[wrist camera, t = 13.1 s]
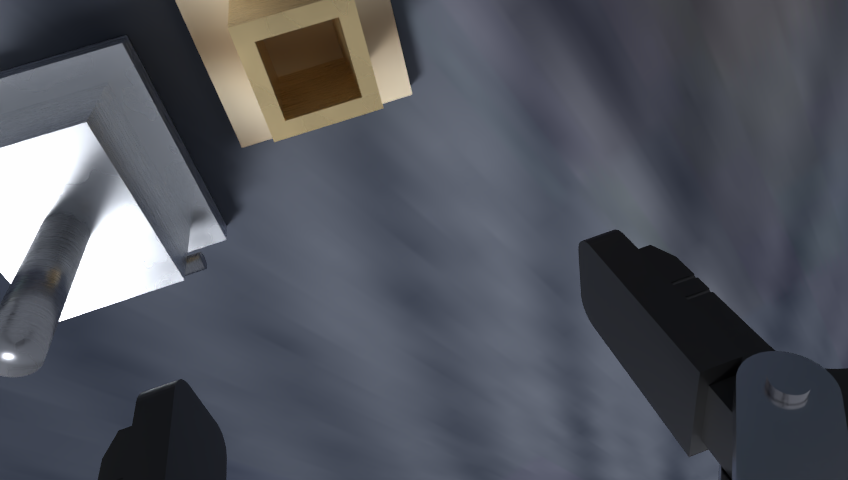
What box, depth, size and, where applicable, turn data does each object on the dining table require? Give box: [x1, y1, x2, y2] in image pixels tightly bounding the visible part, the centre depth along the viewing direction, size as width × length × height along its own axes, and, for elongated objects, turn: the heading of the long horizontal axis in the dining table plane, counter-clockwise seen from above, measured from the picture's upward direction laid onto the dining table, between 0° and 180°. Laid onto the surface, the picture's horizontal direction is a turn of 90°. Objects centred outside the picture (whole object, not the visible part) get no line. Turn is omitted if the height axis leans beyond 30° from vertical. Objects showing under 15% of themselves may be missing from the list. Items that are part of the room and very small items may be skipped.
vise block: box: [0, 35, 227, 377], centre depth 26 cm, size 12×10×14 cm
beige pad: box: [175, 0, 412, 148], centre depth 30 cm, size 10×10×1 cm
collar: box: [228, 0, 383, 142], centre depth 27 cm, size 5×5×6 cm
